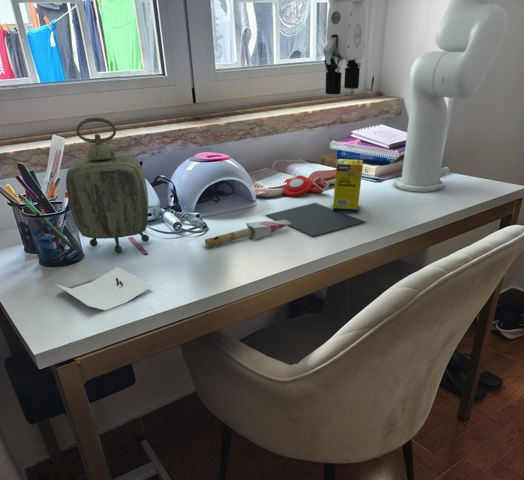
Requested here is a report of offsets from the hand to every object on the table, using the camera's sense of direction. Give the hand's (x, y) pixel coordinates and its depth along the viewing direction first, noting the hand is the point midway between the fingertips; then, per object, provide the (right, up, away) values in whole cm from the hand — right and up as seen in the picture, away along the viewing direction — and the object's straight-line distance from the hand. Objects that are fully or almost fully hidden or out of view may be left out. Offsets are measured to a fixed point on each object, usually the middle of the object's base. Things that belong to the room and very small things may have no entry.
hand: (342, 91), depth 107 cm
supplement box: (+3, -21, +14) cm, 26 cm away
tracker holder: (-6, -14, +26) cm, 31 cm away
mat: (-5, -25, +9) cm, 27 cm away
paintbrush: (-20, -32, 0) cm, 38 cm away
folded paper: (-44, -46, -20) cm, 67 cm away
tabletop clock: (-47, -35, -4) cm, 59 cm away
